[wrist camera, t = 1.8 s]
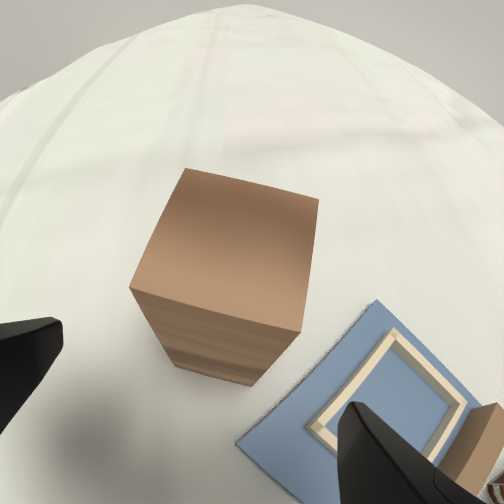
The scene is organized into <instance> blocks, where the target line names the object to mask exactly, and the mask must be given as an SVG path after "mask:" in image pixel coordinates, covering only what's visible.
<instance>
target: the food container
mask: <svg viewBox="0 0 504 504" xmlns="http://www.w3.org/2000/svg"><path fill="white" fill-rule="evenodd" d="M487 485H488V491H489V494H490V496H491V498H492V500H493V502H495V503H496V504H504V470H503V471H502V472H501V473H500V474H499V475H498V476H496V477H495V478H494V479H493V480H492V481H491V482H489V483H488V484H487Z"/></svg>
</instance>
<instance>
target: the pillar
mask: <svg viewBox="0 0 504 504" xmlns="http://www.w3.org/2000/svg"><path fill="white" fill-rule="evenodd" d="M318 202H319V199H316V198H312V197H308V196H304V195H301V194H297V193H293V192H289V191H285V190H281V189H277V188H273V187H269V186H265V185H261V184H256V183H252V182H248V181H244V180H239V179H235V178H230V177H226V176H221V175H217V174H212V173H207V172H202V171H198V170H193V169H188V168H185V170H184V172H183V174H182V175H181V177H180V179H179V181H178V183H177V185H176V187H175V189H174V191H173V193H172V195H171V197H170V199H169V201H168V203H167V205H166V207H165V209H164V211H163V213H162V215H161V217H160V219H159V221H158V223H157V225H156V227H155V230H154V232H153V234H152V236H151V238H150V240H149V242H148V245H147V247H146V249H145V251H144V253H143V256H142V258H141V260H140V262H139V265H138V267H137V269H136V272H135V274H134V276H133V279H132V281H131V283H130V286H129V288H130V290H131V292H132V294H133V295H134V297H135V299H136V301H137V303H138V305H139V306H140V308H141V310H142V312H143V314H144V315H145V317H146V319H147V321H148V322H149V324H150V326H151V328H152V329H153V331H154V333H155V334H156V336H157V338H158V339H159V341H160V343H161V344H162V346H163V348H164V349H165V351H166V353H167V354H168V356H169V357H170V359H171V361H172V362H173V364H174V365H175V367H178V368H182V369H185V370H189V371H192V372H196V373H199V374H203V375H207V376H210V377H214V378H218V379H222V380H226V381H230V382H234V383H238V384H242V385H247V386H251V387H252V386H253V385H254V384H255V383H256V382H257V380H258V379H259V378H260V377H261V376H262V375H263V374H264V373H265V372H266V371H267V370H268V369H269V368H270V366H271V365H272V364H273V363H274V362H275V361H276V360H277V359H278V358H279V356H280V355H281V354H282V353H283V352H284V351H285V350H286V349H287V347H288V346H289V345H290V344H291V343H292V342H293V341H294V339H295V338H296V337H297V336H298V335H299V334H300V333H301V328H302V322H303V316H304V309H305V303H306V296H307V289H308V282H309V275H310V268H311V261H312V253H313V245H314V237H315V229H316V220H317V211H318Z"/></svg>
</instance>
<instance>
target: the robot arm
mask: <svg viewBox="0 0 504 504" xmlns="http://www.w3.org/2000/svg"><path fill="white" fill-rule="evenodd" d="M62 348H63V326H62V322H61V321H60V320H58V319H55V318H53V317H45V318H38V319H31V320H24V321H17V322H10V323H3V324H0V435H1V433H2V432H3V430H4V429H5V428H6V426H7V425H8V424H9V422H10V421H11V420H12V418H13V417H14V416H15V414H16V413H17V412H18V410H19V409H20V408H21V406H22V405H23V404H24V403H25V401H26V400H27V399H28V398H29V396H30V395H31V394H32V392H33V391H34V390H35V389H36V387H37V386H38V385H39V384H40V382H41V381H42V379H43V378H44V376H45V375H46V373H47V372H48V370H49V368H50V367H51V365H52V364H53V362H54V361H55V359H56V358H57V356H58V355H59V353H60V352H61V350H62ZM337 473H338V483H339V494H340V504H487V503H485V502H484V501H482V500H480V499H479V498H477V497H476V496H474V495H473V494H471V493H470V492H468V491H467V490H466V489H464V488H463V487H461V486H460V485H458V484H457V483H456V482H454V481H453V480H452V479H451V478H449V477H448V476H447V475H446V474H444V473H443V472H442V471H441V470H440V469H438V468H437V467H435V465H434V464H433V463H431V462H430V461H429V460H428V459H427V458H426V457H424V456H423V455H422V454H421V453H420V452H419V451H417V450H416V449H415V448H414V447H413V446H412V445H411V444H409V443H408V442H407V441H406V440H405V439H404V438H403V437H401V436H400V435H399V434H398V433H397V432H396V431H395V430H394V429H392V428H391V427H390V426H389V425H388V424H387V423H386V422H385V421H383V420H382V419H381V418H380V417H379V416H378V415H377V414H376V413H375V412H373V411H372V410H371V409H370V408H369V407H368V406H367V405H366V404H365V403H363V402H358V401H351V402H349V403H348V405H347V406H346V408H345V410H344V412H343V414H342V416H341V418H340V419H339V422H338V427H337Z"/></svg>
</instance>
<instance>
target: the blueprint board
mask: <svg viewBox="0 0 504 504" xmlns="http://www.w3.org/2000/svg"><path fill="white" fill-rule="evenodd" d="M351 401H358V402H363V403H365V404H366V405H367V406H368V407H369V408H370V409H371V410H372V411H373V412H375V413H376V414H377V415H378V416H379V417H380V418H381V419H382V420H383V421H385V422H386V423H387V424H388V425H389V426H390V427H391V428H392V429H394V430H395V431H396V432H397V433H398V434H399V435H400V436H401V437H403V438H404V439H405V440H406V441H407V442H408V443H409V444H411V445H412V446H413V447H414V448H415V449H416V450H417V451H419V452H420V453H421V454H422V455H423V456H424V457H426V458H427V459H428V460H429V461H430V462H431V463H433V464H434V465H435V467H437V468H438V469H440V470H441V471H442V472H443V473H444V474H446V475H447V476H448V477H449V478H451V479H452V480H453V481H454V482H456V483H457V484H458V485H460V486H461V487H463V488H464V489H466V490H467V491H468V492H470V493H471V494H473V495H474V496H477V494H478V493H479V491H480V490H481V488H482V486H483V484H484V483H485V481H486V479H487V477H488V476H489V474H490V472H491V470H492V468H493V466H494V464H495V462H496V461H497V459H498V457H499V455H500V452H501V450H502V448H503V446H504V410H503V408H502V407H501V406H500V405H499V404H498V403H493V404H489V405H486V406H482V405H481V404H480V403H479V402H478V401H477V400H476V399H475V398H474V397H473V396H472V394H471V393H470V392H469V391H468V390H467V389H466V388H465V387H464V386H463V385H462V384H461V383H460V382H459V381H458V380H457V378H456V377H455V376H454V375H453V374H452V373H451V372H450V371H449V370H448V369H447V368H446V367H445V366H444V365H443V364H442V363H441V362H440V361H439V360H438V359H437V358H436V357H435V356H434V355H433V354H432V353H431V352H430V351H429V350H428V349H427V348H426V347H425V346H424V345H423V344H422V343H421V342H420V341H419V340H418V339H417V338H416V337H415V336H414V335H413V334H412V333H411V332H410V331H409V330H408V329H407V328H406V327H405V326H404V325H403V324H402V323H401V322H400V321H399V320H398V319H397V318H396V317H395V316H394V315H393V314H392V313H391V312H390V311H389V310H388V309H387V308H386V307H385V306H384V305H383V304H381V303H380V302H379V301H378V300H377V299H376V300H375V301H374V302H373V303H372V304H371V305H370V306H369V308H368V309H367V310H366V311H365V312H364V314H363V315H362V316H361V317H360V318H359V320H358V321H357V322H356V323H355V324H354V325H353V327H352V328H351V329H350V330H349V331H348V332H347V333H346V335H345V336H344V337H343V338H342V339H341V340H340V341H339V343H338V344H337V345H336V346H335V347H334V348H333V349H332V350H331V351H330V352H329V354H328V355H327V356H326V357H325V358H324V359H323V360H322V361H321V362H320V363H319V364H318V365H317V366H316V367H315V368H314V370H313V371H312V372H311V373H310V374H309V375H308V376H307V377H306V378H305V379H304V380H303V381H302V382H301V383H300V384H299V385H298V386H297V387H296V388H295V389H294V390H293V391H292V392H291V393H290V394H289V395H288V396H287V397H286V398H285V399H284V400H283V401H282V402H280V403H279V404H278V405H277V406H276V407H275V408H274V409H273V410H272V411H271V412H270V413H269V414H268V415H267V416H266V417H264V418H263V419H262V420H261V421H260V422H259V423H258V424H257V425H256V426H255V427H253V428H252V429H251V430H250V431H249V432H248V433H247V434H245V435H244V436H243V437H242V438H241V439H240V440H238V441H237V442H236V444H237V445H238V446H239V447H240V448H241V449H242V450H243V451H244V452H245V453H246V454H247V455H248V456H249V457H250V458H251V459H252V460H254V461H255V462H256V463H257V464H258V465H259V466H260V467H261V468H262V469H263V470H265V471H266V472H267V473H268V474H269V475H270V476H271V477H273V478H274V479H275V480H276V481H277V482H278V483H280V484H281V485H282V486H283V487H284V488H286V489H287V490H288V491H289V492H290V493H292V494H293V495H294V496H295V497H297V498H298V499H299V500H300V501H302V502H303V503H304V504H340V494H339V483H338V473H337V427H338V422H339V419H340V418H341V416H342V414H343V412H344V410H345V408H346V406H347V405H348V403H349V402H351Z"/></svg>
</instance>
